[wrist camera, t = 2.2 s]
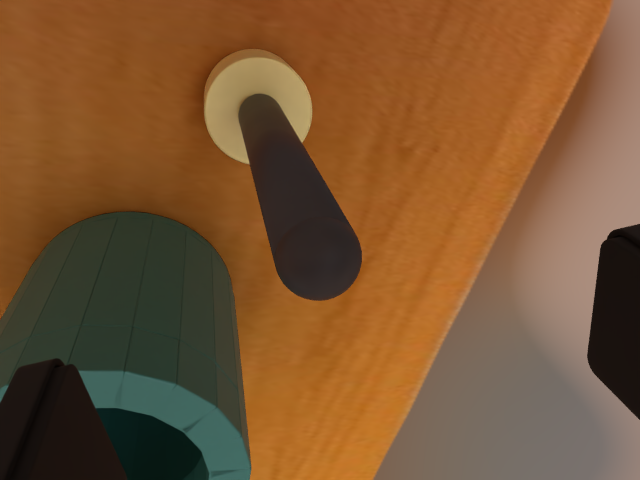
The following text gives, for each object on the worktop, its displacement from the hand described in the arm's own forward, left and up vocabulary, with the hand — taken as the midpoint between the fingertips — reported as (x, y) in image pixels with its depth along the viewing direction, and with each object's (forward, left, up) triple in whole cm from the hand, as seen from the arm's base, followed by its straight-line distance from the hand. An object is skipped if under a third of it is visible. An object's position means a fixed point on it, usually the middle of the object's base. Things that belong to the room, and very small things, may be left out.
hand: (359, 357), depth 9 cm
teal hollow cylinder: (+10, -9, -20) cm, 24 cm away
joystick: (0, 0, -20) cm, 20 cm away
